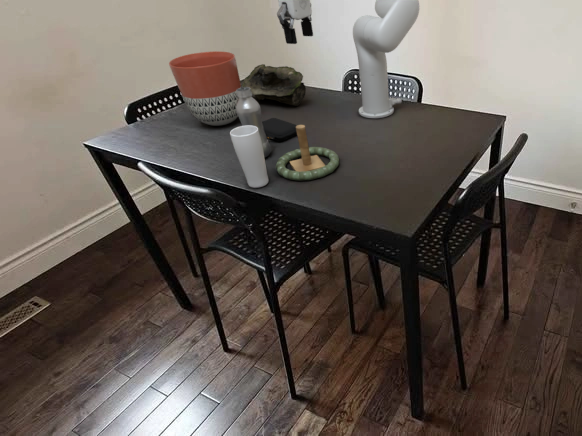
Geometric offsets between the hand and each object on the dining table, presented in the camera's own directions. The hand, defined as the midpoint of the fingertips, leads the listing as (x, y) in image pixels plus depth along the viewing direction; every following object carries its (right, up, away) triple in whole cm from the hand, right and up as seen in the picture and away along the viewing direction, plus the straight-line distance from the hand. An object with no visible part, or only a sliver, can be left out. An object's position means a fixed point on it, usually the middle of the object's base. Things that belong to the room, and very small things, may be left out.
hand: (300, 39), depth 122 cm
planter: (-34, -19, +24) cm, 45 cm away
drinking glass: (-8, -43, -12) cm, 45 cm away
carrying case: (-12, -25, +15) cm, 31 cm away
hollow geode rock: (-19, -8, +39) cm, 44 cm away
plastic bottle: (-12, -34, +2) cm, 36 cm away
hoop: (+4, -37, -5) cm, 37 cm away
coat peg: (+4, -38, -5) cm, 38 cm away
